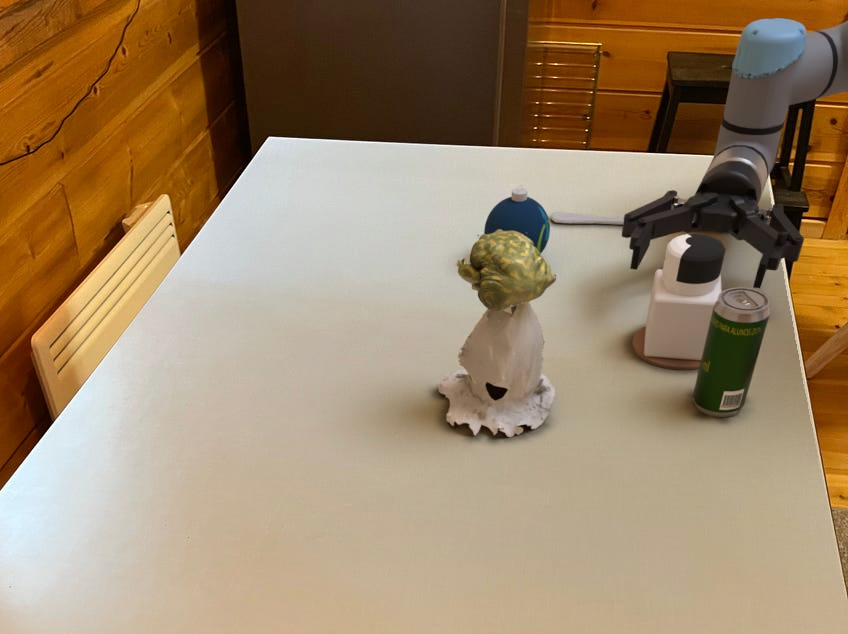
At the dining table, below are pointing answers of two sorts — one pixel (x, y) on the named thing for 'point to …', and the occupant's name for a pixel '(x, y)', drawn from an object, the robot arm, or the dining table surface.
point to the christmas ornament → (520, 218)
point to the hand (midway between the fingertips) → (696, 267)
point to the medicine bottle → (684, 297)
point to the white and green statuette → (502, 338)
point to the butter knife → (585, 219)
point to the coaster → (668, 363)
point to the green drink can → (731, 351)
